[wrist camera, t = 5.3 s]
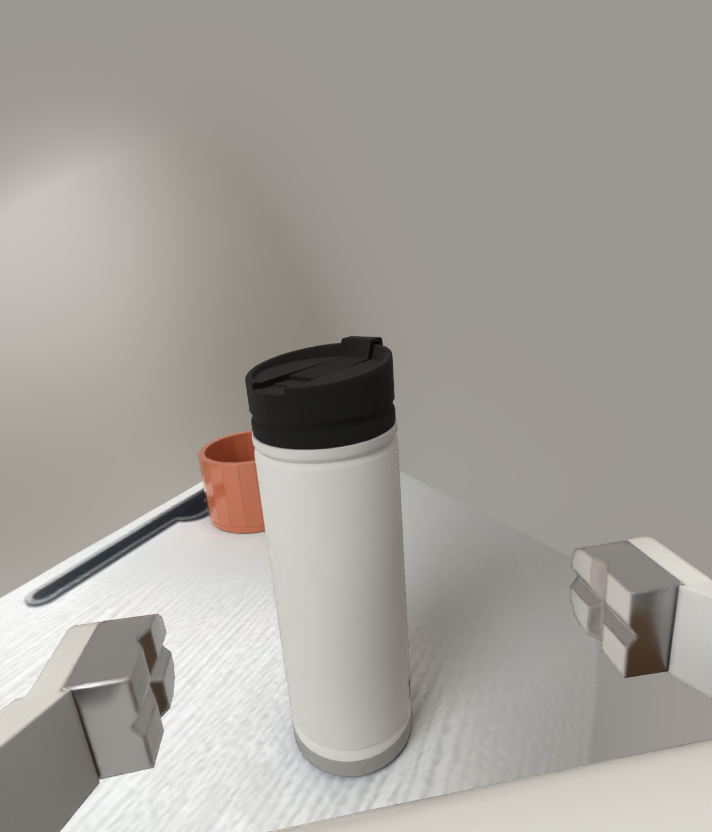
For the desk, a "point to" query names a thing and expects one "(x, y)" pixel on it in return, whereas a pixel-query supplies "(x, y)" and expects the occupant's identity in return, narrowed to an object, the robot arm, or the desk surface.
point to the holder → (232, 483)
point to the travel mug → (336, 547)
